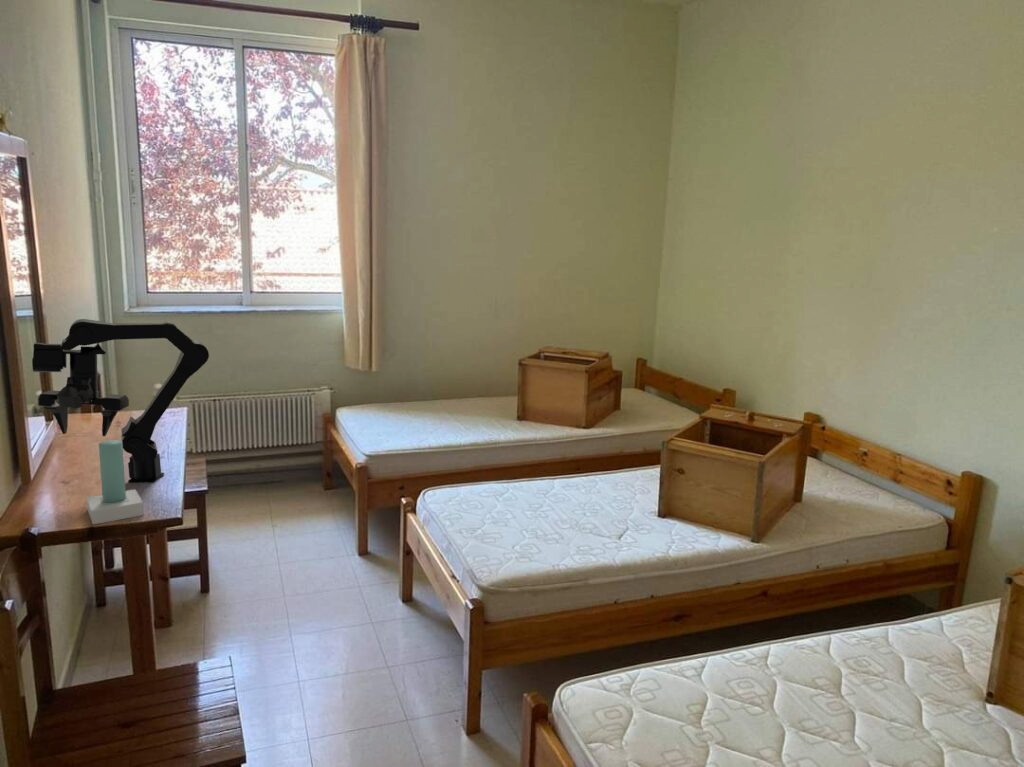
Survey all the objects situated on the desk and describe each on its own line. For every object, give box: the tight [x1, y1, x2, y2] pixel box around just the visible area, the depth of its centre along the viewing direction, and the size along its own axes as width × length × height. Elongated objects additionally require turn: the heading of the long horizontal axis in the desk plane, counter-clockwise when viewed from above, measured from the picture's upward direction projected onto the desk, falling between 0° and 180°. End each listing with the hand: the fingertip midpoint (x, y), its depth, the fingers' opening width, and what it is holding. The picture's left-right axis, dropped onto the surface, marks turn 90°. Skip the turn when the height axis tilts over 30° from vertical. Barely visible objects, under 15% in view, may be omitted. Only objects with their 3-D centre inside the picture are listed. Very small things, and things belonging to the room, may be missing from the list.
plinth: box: [85, 489, 145, 525], centre depth 164 cm, size 10×10×3 cm
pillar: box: [98, 439, 127, 503], centre depth 163 cm, size 5×5×13 cm
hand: (84, 434), depth 179 cm, fingers open, 9 cm apart
